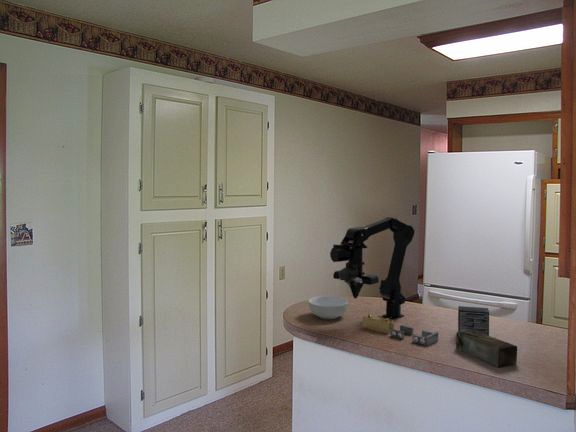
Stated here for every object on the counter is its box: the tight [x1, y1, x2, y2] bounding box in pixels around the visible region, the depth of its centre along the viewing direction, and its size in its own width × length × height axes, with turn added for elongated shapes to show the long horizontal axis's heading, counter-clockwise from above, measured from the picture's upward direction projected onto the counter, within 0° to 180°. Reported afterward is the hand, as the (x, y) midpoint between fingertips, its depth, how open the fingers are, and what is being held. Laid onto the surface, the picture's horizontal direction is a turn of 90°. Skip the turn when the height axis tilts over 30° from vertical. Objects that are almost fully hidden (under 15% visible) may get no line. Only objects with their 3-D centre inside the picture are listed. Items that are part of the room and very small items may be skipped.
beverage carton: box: [455, 330, 518, 368], centre depth 153 cm, size 8×19×7 cm, turn 22°
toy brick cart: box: [390, 324, 439, 347], centre depth 170 cm, size 9×15×3 cm, turn 45°
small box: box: [457, 305, 490, 336], centre depth 172 cm, size 11×6×10 cm, turn 71°
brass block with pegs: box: [362, 313, 395, 335], centre depth 181 cm, size 4×12×5 cm, turn 45°
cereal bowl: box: [308, 295, 349, 320], centre depth 198 cm, size 17×17×7 cm
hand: (355, 298), depth 188 cm, fingers closed
